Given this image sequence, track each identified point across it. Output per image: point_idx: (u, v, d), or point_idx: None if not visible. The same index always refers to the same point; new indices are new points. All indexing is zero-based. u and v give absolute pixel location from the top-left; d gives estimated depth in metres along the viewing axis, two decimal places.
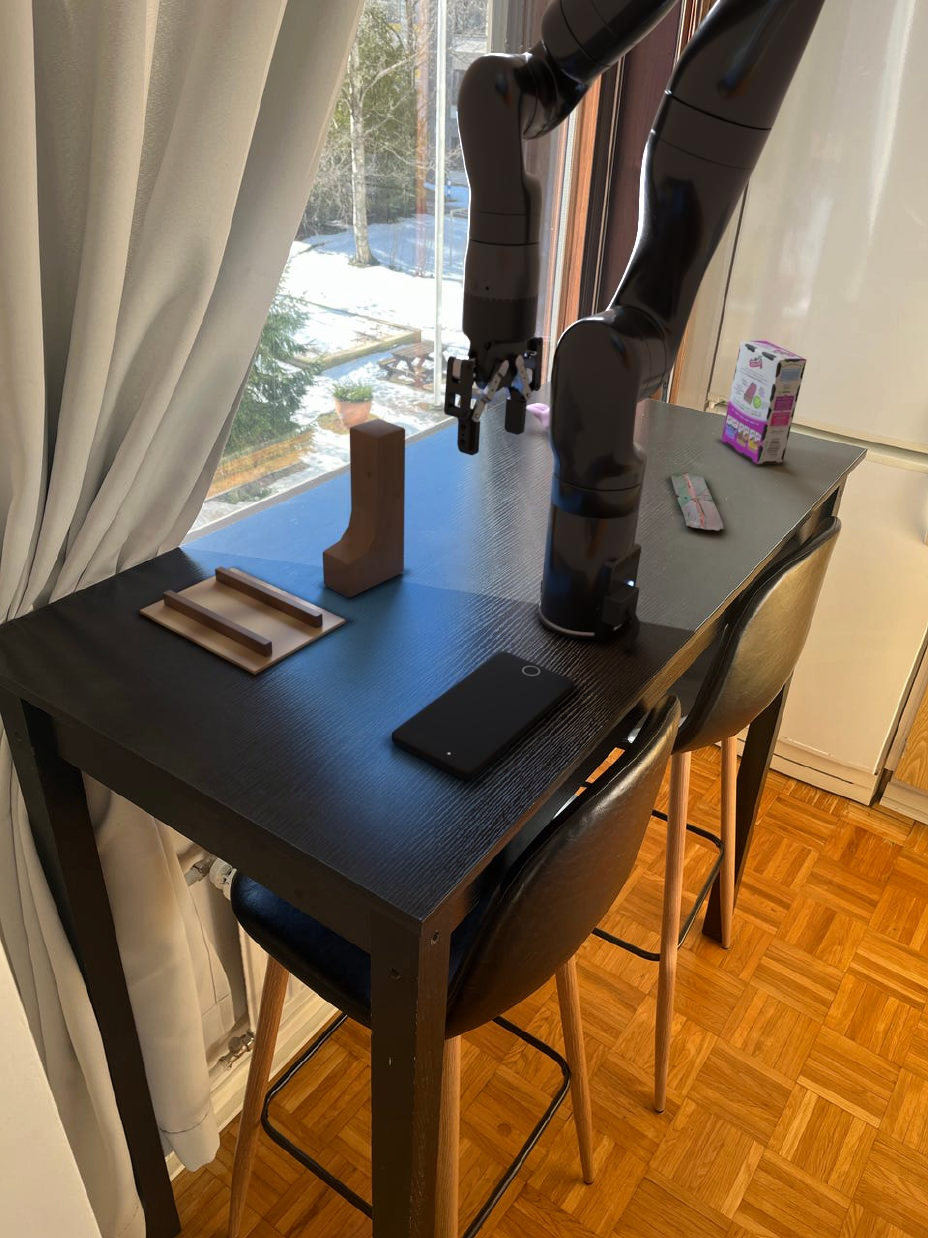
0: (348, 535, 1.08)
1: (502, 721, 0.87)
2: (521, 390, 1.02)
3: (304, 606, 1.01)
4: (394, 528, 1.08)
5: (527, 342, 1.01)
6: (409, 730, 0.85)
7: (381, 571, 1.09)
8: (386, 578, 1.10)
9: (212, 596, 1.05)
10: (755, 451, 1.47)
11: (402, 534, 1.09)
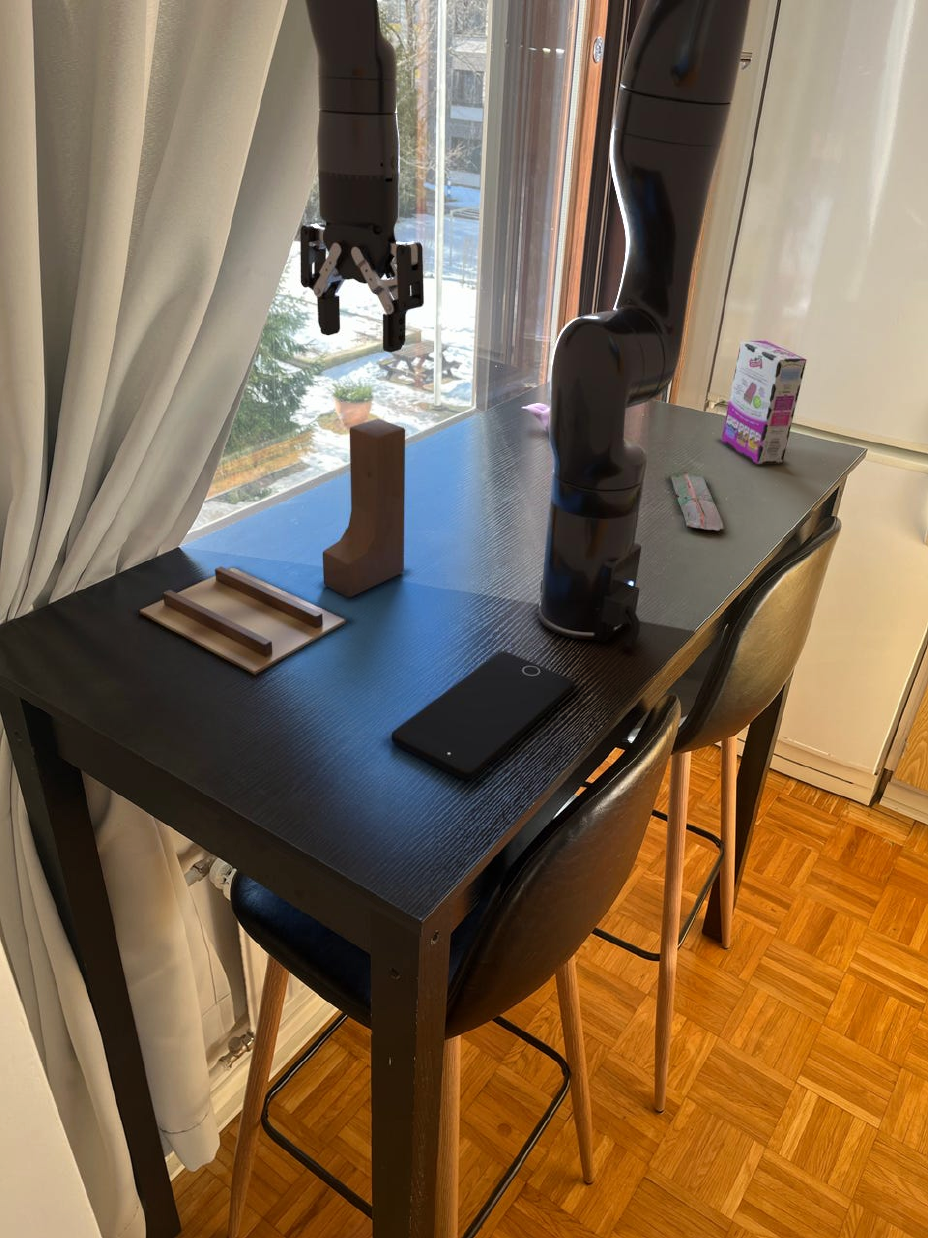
0: (348, 535, 1.08)
1: (502, 721, 0.87)
2: (378, 296, 0.91)
3: (304, 606, 1.01)
4: (394, 528, 1.08)
5: (395, 246, 0.88)
6: (409, 730, 0.85)
7: (381, 571, 1.09)
8: (386, 578, 1.10)
9: (212, 596, 1.05)
10: (755, 451, 1.47)
11: (402, 534, 1.09)
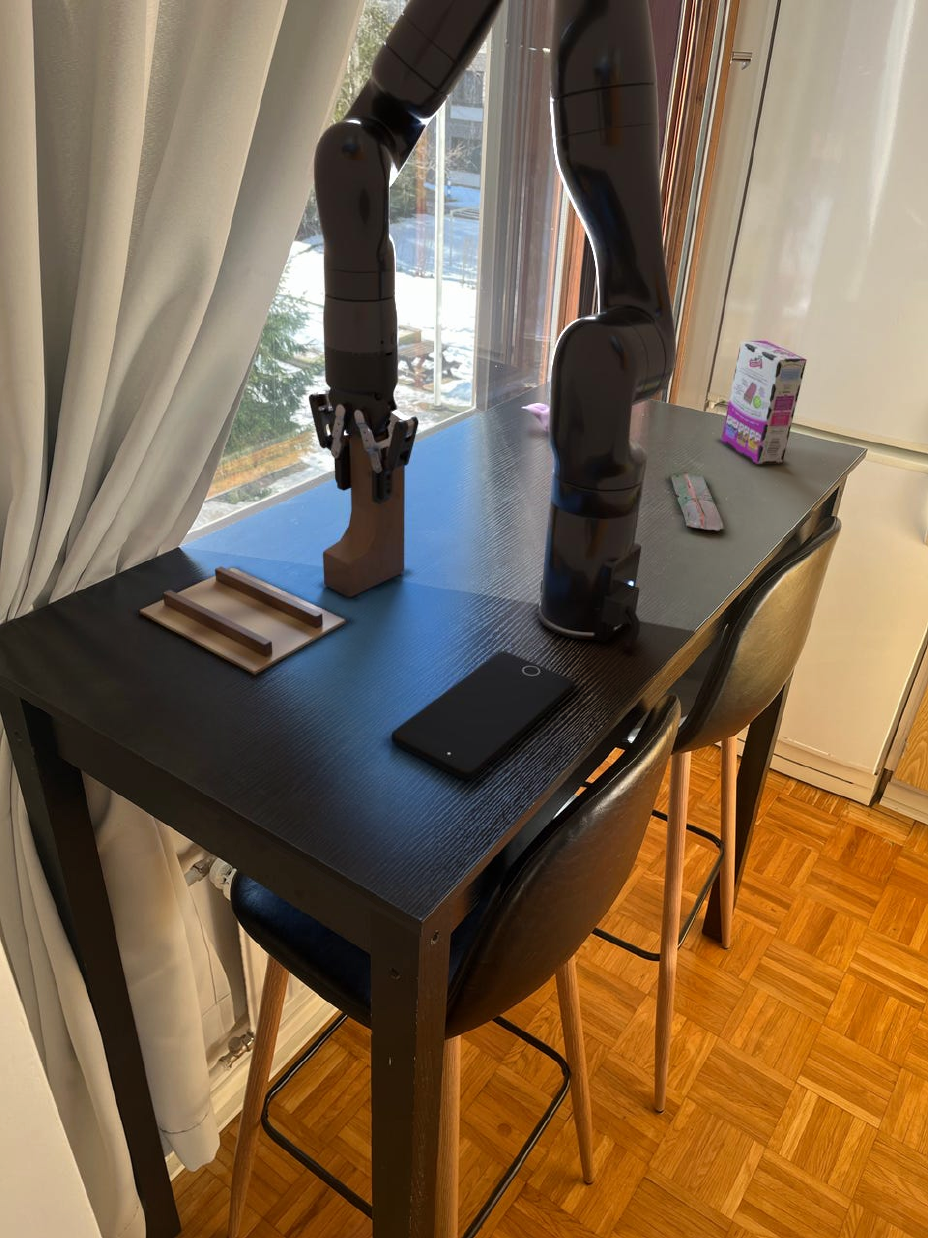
0: (348, 535, 1.08)
1: (502, 721, 0.87)
2: (370, 454, 1.00)
3: (304, 606, 1.01)
4: (395, 528, 1.08)
5: (394, 417, 0.97)
6: (409, 730, 0.85)
7: (382, 571, 1.09)
8: (386, 578, 1.10)
9: (212, 596, 1.05)
10: (755, 451, 1.47)
11: (402, 533, 1.09)
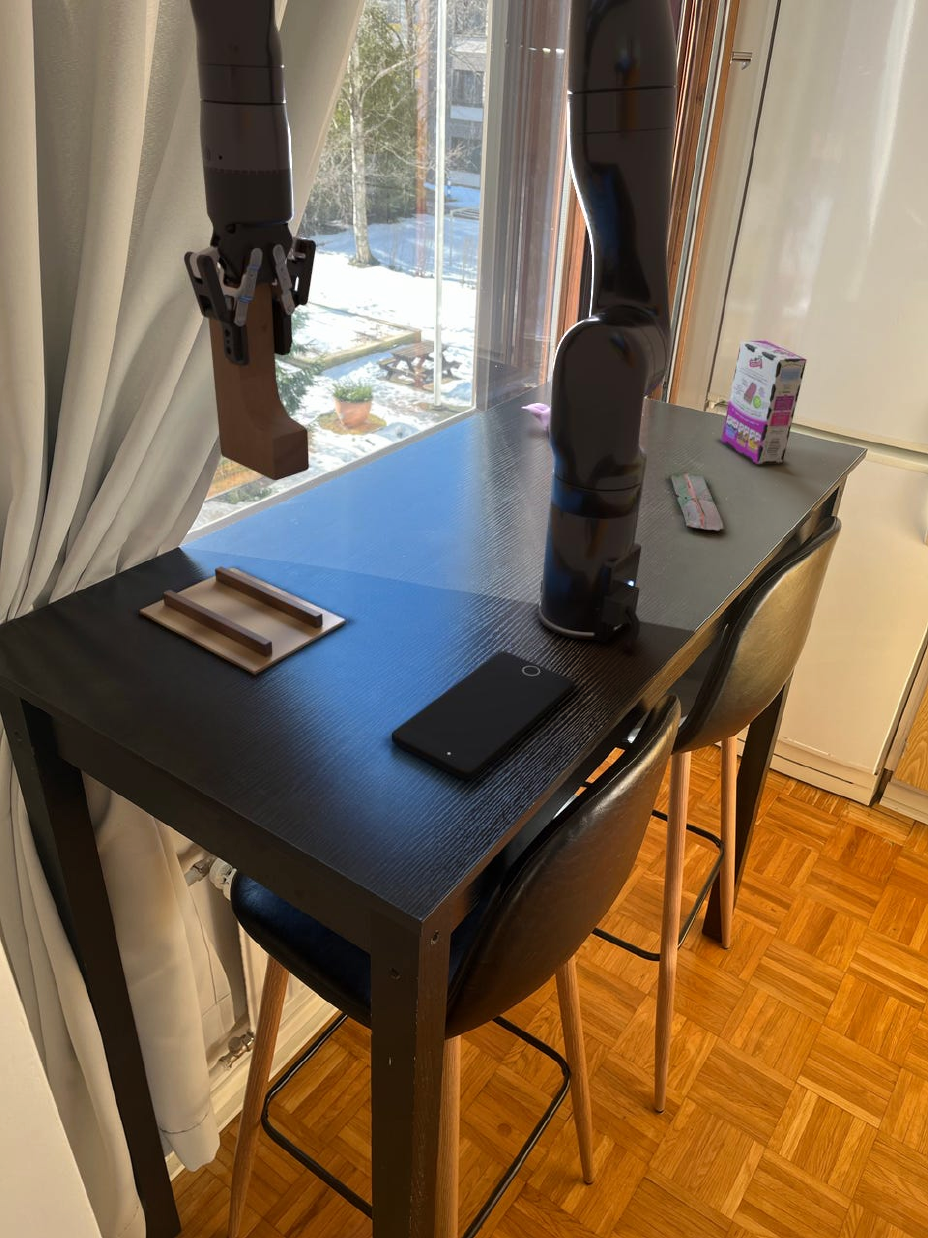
0: (257, 415, 0.92)
1: (502, 721, 0.87)
2: (281, 297, 0.88)
3: (304, 606, 1.01)
4: None
5: (296, 240, 0.88)
6: (409, 730, 0.85)
7: None
8: None
9: (212, 596, 1.05)
10: (755, 451, 1.47)
11: None
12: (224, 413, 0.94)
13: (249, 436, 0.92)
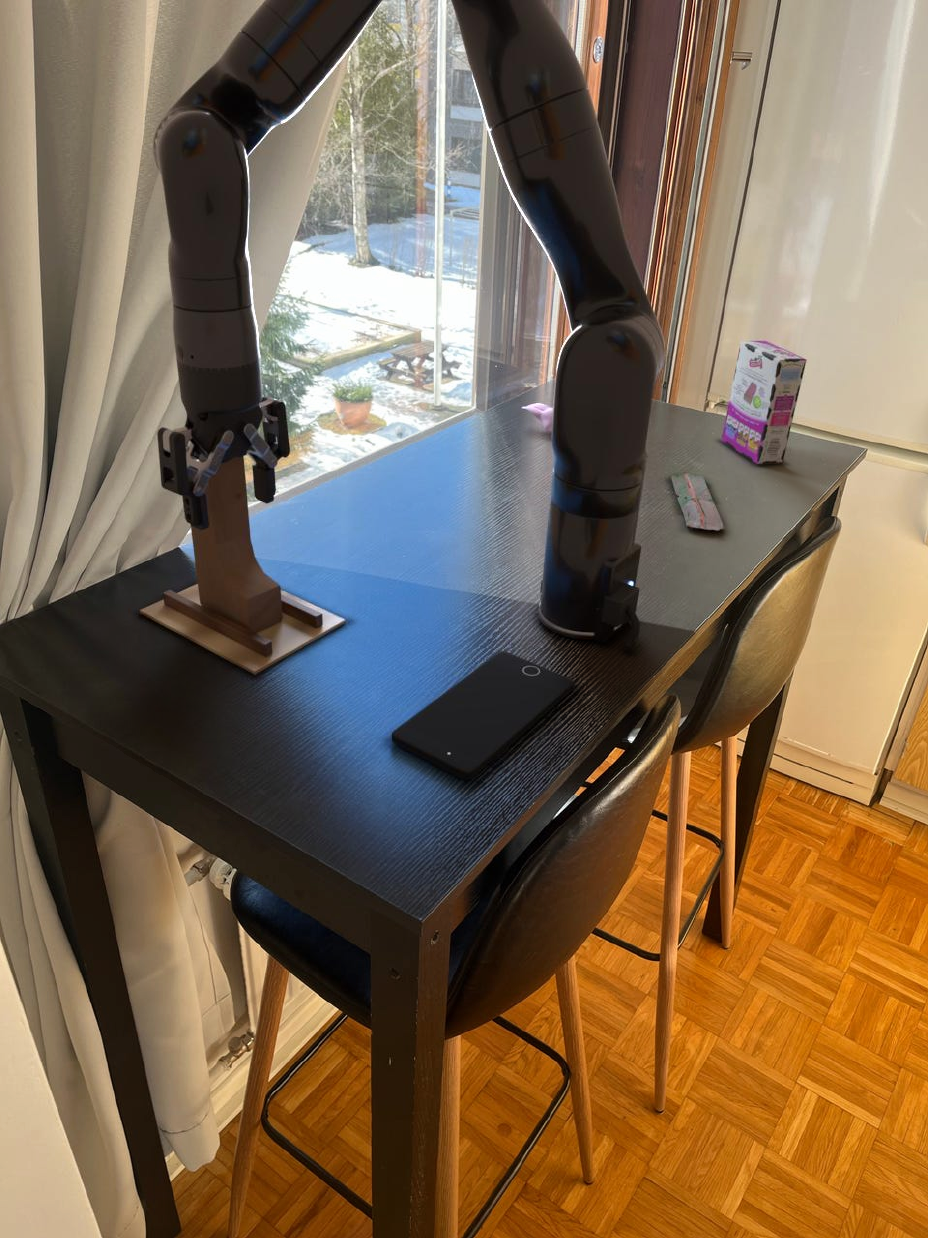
0: (233, 575, 0.98)
1: (502, 721, 0.87)
2: (262, 458, 0.95)
3: (304, 606, 1.01)
4: None
5: (265, 407, 0.94)
6: (409, 730, 0.85)
7: None
8: None
9: None
10: (755, 451, 1.47)
11: None
12: (202, 570, 1.00)
13: (226, 594, 0.98)
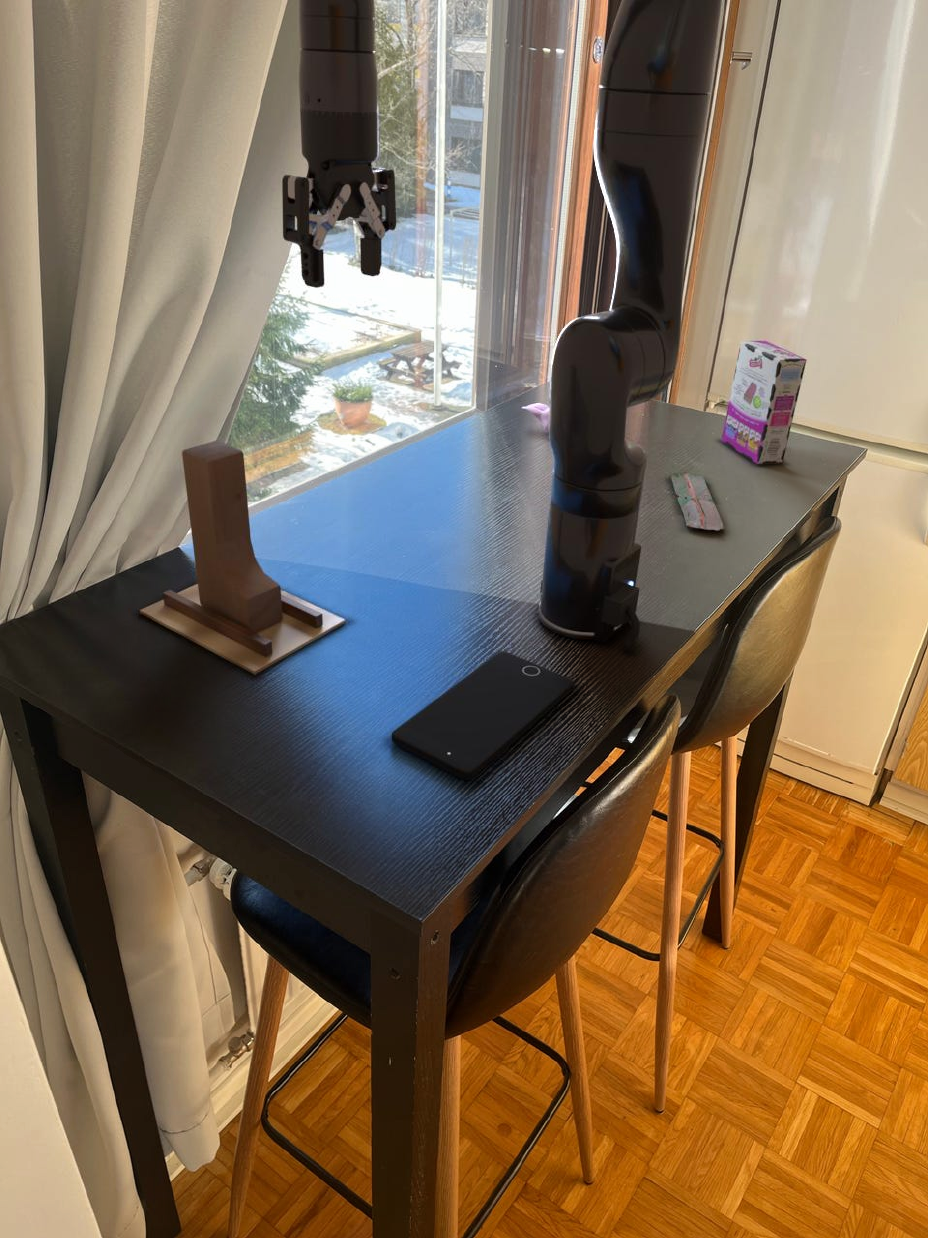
0: (233, 575, 0.98)
1: (502, 721, 0.87)
2: (372, 225, 0.99)
3: (304, 606, 1.01)
4: None
5: (377, 174, 0.98)
6: (409, 730, 0.85)
7: None
8: None
9: None
10: (755, 451, 1.47)
11: None
12: (202, 570, 1.00)
13: (226, 594, 0.98)
